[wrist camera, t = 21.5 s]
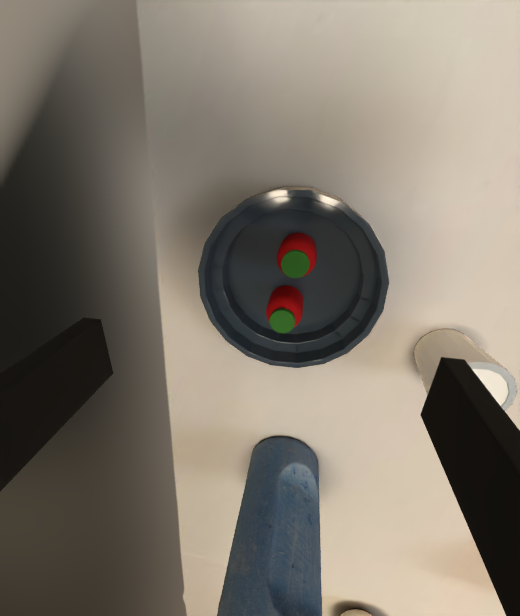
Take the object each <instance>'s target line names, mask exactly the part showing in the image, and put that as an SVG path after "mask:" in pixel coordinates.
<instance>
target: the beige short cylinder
mask: <svg viewBox="0 0 520 616" xmlns="http://www.w3.org/2000/svg"><path fill="white" fill-rule="evenodd" d="M414 357H415V360H416V364H417V366H418V369H419V372H420V375H421V378H422V381H423V383H424V386H425V389H426V392H427V395H428V393H429V390H430V387H431V384H432V381H433V379H434V376H435V373H436V370H437V367H438V365H439V362H440V359H441V357H446V358H455V359H464V360H465V361H466V362H467V363H468V365H469V366H470V367H471V369H472V370H473V371H474V372H475V374H476V375H477V376H478V378H479V379H480V380H481V382H482V383H483V384H484V385H485V387H486V388H487V389H488V391H489V392H490V393H491V394H492V396H493V397H494V398H495V400H496V401H497V402H498V403H499V405H500V406H501V407H502V409H503V410H504V411H505V410H506V409H507V408H508V407H509V406H510V405H511V404H512V403H513V401H514V398H515V396H516V394H517V387H516V380H515V378H514V377H513V376H512V375H511V374H510V373H509V372H508V371H507V369H506V368H504V367H503V366H502V365H501V364H499V363H498V362H497V361H496V360H495V359H493V358H492V357H491V356H490V355H488V354H487V353H486V352H485V351H484V350H482V349H481V348H480V347H479V346H478V345H476V344H475V343H474V342H473V341H471V340H470V339H469V338H468V337H467V336H465V335H464V334H463V333H460V332H458V331H456V330H452V329H440V330H436V331H433V332H430V333H428V334H427V335H425V336H424V337H422V338H421V339H420V341H419V342H418V343H417V345H416V346H415V351H414Z"/></svg>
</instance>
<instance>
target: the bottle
mask: <svg viewBox="0 0 520 616" xmlns="http://www.w3.org/2000/svg"><path fill="white" fill-rule="evenodd" d="M217 616H322V597H321V550H320V514H319V475H318V460H317V458H316V456H315V454H314V453H313V451H312V450H311V449H310V448H309V447H307V446H306V445H305V444H303V443H302V442H300V441H297V440H295V439H292V438H287V437H275V438H269V439H266V440H264V441H262V442H261V443H259V444H258V445H257V446H256V447H255V448H254V450H253V453H252V456H251V460H250V466H249V470H248V475H247V480H246V485H245V489H244V494H243V498H242V502H241V507H240V512H239V516H238V520H237V525H236V529H235V534H234V538H233V543H232V548H231V552H230V556H229V562H228V566H227V571H226V576H225V580H224V585H223V590H222V595H221V599H220V602H219V607H218V614H217Z"/></svg>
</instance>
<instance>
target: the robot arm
mask: <svg viewBox="0 0 520 616" xmlns="http://www.w3.org/2000/svg"><path fill="white" fill-rule="evenodd" d="M112 374H113V371H112V366H111V362H110V358H109V354H108V349H107V345H106V341H105V336H104V332H103V327H102V323H101V320H100V319H92V318H82V319H81V320H80V321H78V322H76V323H75V324H73V325H72V326H70V327H69V328H68V329H66V330H65V331H63V332H62V333H60V334H59V335H57V336H56V337H54V338H53V339H51V340H50V341H48V342H47V343H45V344H44V345H42V346H41V347H39V348H38V349H36V350H35V351H33V352H32V353H30V354H29V355H27V356H26V357H24V358H23V359H21V360H20V361H18V362H17V363H15V364H14V365H12V366H11V367H9V368H8V369H6V370H5V371H4V372H2V373H0V491H1V490H2V489H3V488H4V487H5V486H6V485H7V484H8V483H9V482H10V481H11V480H12V478H13V477H14V476H15V475H16V474H17V473H18V472H19V471H20V470H21V469H22V468H23V467H24V466H25V465H26V464H27V463H28V462H29V461H30V460H31V459H32V458H33V457H34V455H35V454H36V453H37V452H38V451H39V450H40V449H41V448H42V447H43V446H44V445H45V444H46V443H47V442H48V441H49V440H50V439H51V438H52V437H53V436H54V435H55V434H56V433H57V431H58V430H59V429H60V428H61V427H62V426H63V425H64V424H65V423H66V422H67V421H68V420H69V419H70V418H71V417H72V416H73V415H74V414H75V413H76V411H77V410H78V409H80V407H81V406H82V405H83V404H84V403H85V402H86V401H87V400H88V399H89V398H90V397H91V396H92V395H93V394H94V393H95V392H96V391H97V390H98V389H99V388H100V386H102V384H103V383H104V382H105V381H106V380H107V379H108V378H109V377H110V376H111V375H112ZM421 417H422V419H423V422H424V424H425V426H426V429H427V431H428V433H429V436H430V438H431V440H432V443H433V445H434V447H435V450H436V452H437V454H438V457H439V459H440V461H441V464H442V466H443V468H444V471H445V473H446V475H447V478H448V480H449V483H450V485H451V487H452V490H453V492H454V494H455V497H456V499H457V501H458V504H459V506H460V508H461V511H462V513H463V515H464V518H465V520H466V522H467V525H468V527H469V529H470V532H471V534H472V536H473V539H474V541H475V543H476V546H477V548H478V550H479V553H480V555H481V557H482V560H483V562H484V564H485V567H486V569H487V571H488V574H489V576H490V578H491V581H492V583H493V586H494V588H495V590H496V593H497V595H498V597H499V600H500V602H501V604H502V607H503V609H504V611H505V614H506V616H520V431H519V429H518V428H517V427H516V425H515V424H514V423H513V422H512V420H511V419H510V418H509V416H508V415H507V414H506V413H505V411H504V410H503V409H502V407H501V406H500V405H499V403H498V402H497V401H496V400H495V398H494V397H493V396H492V394H491V393H490V392H489V391H488V389H487V388H486V387H485V385H484V384H483V383H482V382H481V380H480V379H479V378H478V376H477V375H476V374H475V372H474V371H473V370H472V369H471V367H470V366H469V365H468V363H467V362H466V361H465V360H464V359H455V358H446V357H441V359H440V362H439V365H438V367H437V370H436V373H435V376H434V379H433V381H432V384H431V387H430V390H429V393H428V395H427V398H426V401H425V404H424V407H423V410H422V412H421Z"/></svg>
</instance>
